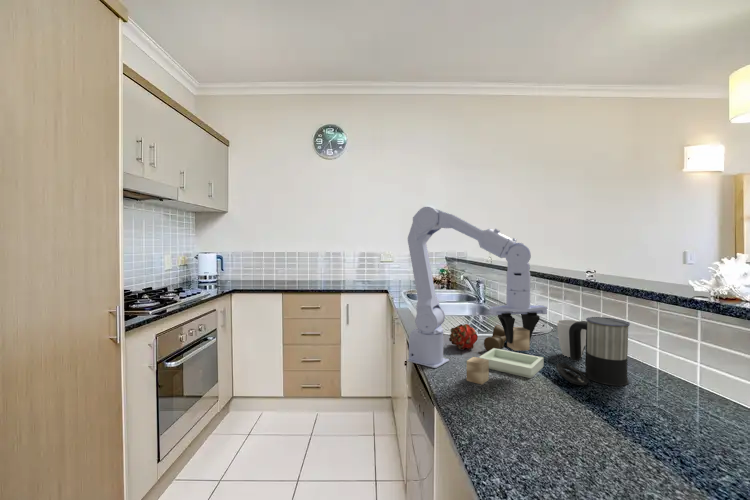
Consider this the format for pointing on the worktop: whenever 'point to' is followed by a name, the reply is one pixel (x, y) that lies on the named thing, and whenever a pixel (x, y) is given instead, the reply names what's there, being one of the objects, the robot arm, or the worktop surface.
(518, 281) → the robot arm
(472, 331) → the dragon fruit
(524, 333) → the maple block
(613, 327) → the milk frother
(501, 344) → the kendama
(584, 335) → the cup
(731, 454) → the worktop surface
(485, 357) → the tray
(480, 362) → the maple block
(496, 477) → the worktop surface
